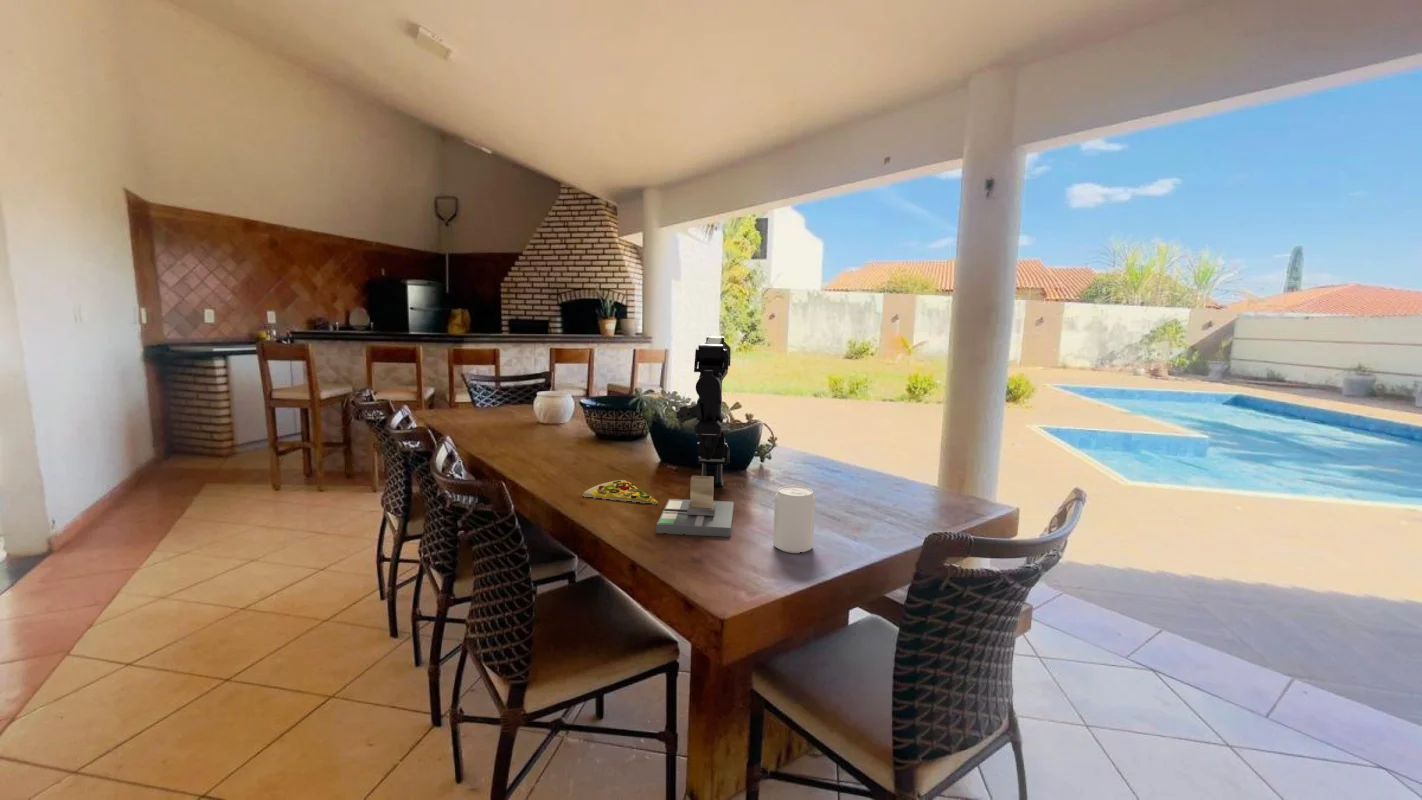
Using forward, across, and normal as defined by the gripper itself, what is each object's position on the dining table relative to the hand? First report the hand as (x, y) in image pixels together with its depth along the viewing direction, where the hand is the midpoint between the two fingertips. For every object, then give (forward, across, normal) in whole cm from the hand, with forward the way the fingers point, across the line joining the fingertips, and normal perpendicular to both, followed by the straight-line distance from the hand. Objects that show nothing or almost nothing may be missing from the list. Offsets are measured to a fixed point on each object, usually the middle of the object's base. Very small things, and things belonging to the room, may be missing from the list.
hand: (709, 455), depth 145 cm
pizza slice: (+13, -2, -21) cm, 25 cm away
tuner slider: (+10, +16, -4) cm, 19 cm away
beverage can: (+12, +28, +19) cm, 36 cm away
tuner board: (+12, +15, -2) cm, 19 cm away
